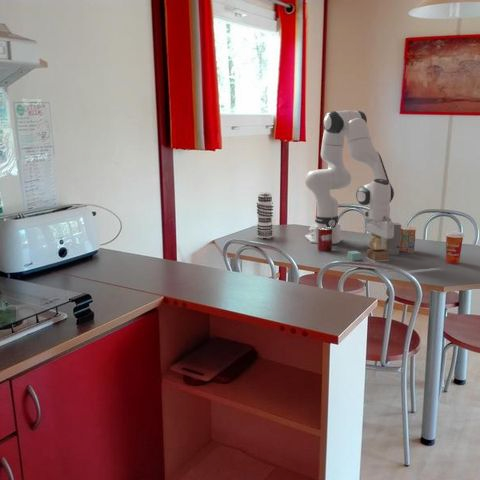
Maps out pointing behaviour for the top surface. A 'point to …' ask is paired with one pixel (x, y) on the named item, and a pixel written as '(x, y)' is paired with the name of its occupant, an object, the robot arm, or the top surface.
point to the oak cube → (376, 243)
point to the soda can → (325, 239)
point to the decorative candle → (264, 215)
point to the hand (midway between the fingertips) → (378, 244)
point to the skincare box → (394, 241)
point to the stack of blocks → (407, 239)
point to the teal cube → (354, 255)
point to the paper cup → (453, 246)
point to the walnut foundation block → (377, 254)
